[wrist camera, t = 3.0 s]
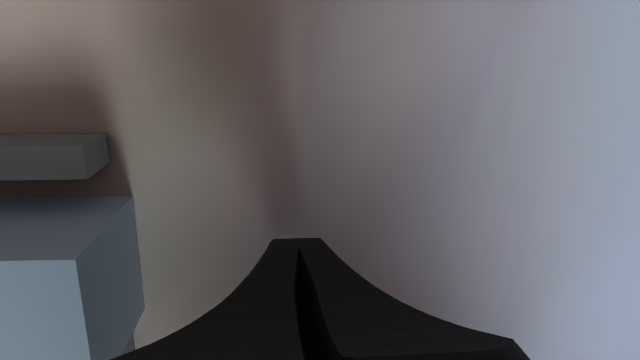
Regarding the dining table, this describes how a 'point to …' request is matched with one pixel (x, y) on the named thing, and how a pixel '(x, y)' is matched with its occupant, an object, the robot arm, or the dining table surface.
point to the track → (53, 161)
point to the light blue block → (68, 277)
